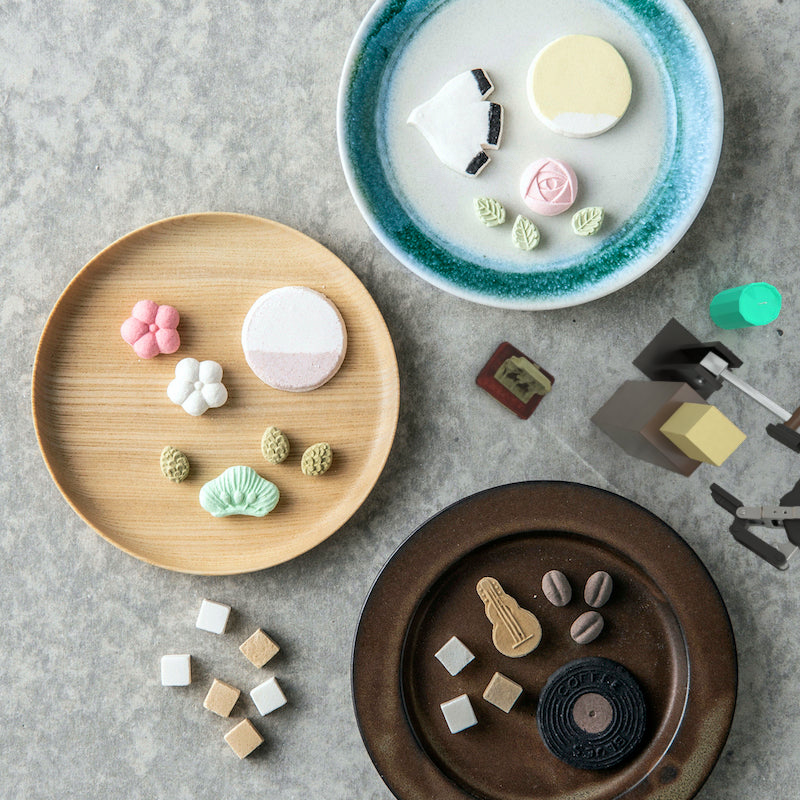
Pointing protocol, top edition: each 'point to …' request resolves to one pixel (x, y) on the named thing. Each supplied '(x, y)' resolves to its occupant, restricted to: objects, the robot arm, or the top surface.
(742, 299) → the candle
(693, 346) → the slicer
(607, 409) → the stand
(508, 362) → the sculpture
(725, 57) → the top surface
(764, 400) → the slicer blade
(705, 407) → the butter
